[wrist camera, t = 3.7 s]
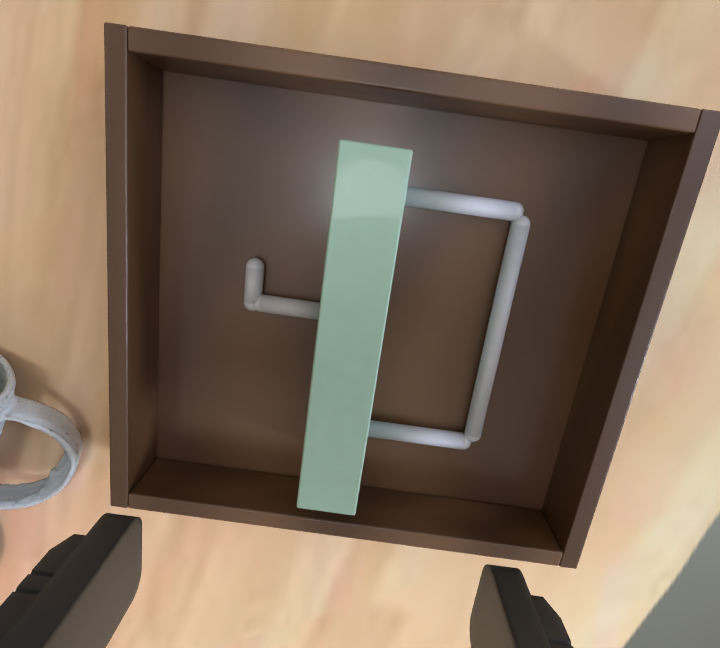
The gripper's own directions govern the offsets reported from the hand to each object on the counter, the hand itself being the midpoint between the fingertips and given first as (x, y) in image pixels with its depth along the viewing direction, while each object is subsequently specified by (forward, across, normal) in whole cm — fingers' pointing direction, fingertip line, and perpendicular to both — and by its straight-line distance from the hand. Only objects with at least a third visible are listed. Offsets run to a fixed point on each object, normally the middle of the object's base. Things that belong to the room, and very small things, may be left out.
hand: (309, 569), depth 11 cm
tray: (+13, -1, -3) cm, 13 cm away
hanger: (+12, 0, -3) cm, 13 cm away
